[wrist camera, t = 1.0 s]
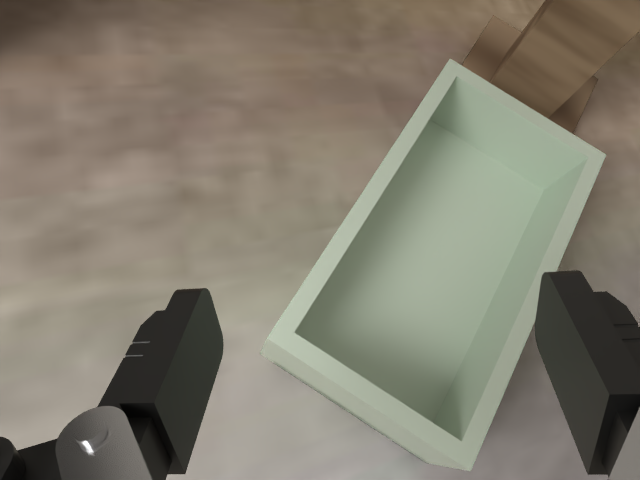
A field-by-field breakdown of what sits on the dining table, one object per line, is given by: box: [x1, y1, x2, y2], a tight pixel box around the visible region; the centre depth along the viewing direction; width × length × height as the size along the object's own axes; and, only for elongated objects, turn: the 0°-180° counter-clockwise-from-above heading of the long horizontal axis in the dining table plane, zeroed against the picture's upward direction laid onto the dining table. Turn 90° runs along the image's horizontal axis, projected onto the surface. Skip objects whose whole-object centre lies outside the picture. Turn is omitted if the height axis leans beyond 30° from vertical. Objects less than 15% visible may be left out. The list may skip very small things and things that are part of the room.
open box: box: [260, 59, 606, 471], centre depth 32 cm, size 22×12×6 cm, turn 149°
